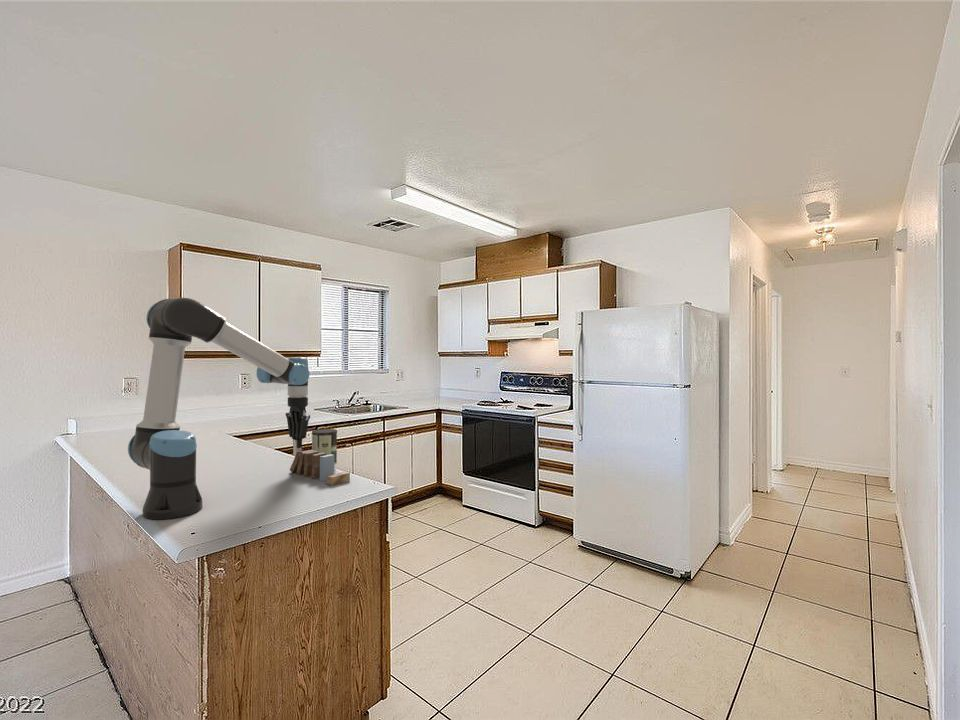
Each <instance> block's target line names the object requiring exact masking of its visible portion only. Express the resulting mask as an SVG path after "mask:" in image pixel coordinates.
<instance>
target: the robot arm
mask: <svg viewBox="0 0 960 720" xmlns="http://www.w3.org/2000/svg"><path fill="white" fill-rule="evenodd" d="M146 324H147V326H148V328H149V334H148V340H150V342H151V343H152V344H153V347H152V353H151V354H152V355H151V362H150V369H149V376H148V384H147V390H146V395H145V404H144V411H143V418H142V420H141V421H139V422H138V423H137V424H136V427H135V433H134V435H133V436H132V437H131V439H130V440H129V442H128V445H127V454H128V457H129V458H130V460H132V462H134V464H136V465H137V466H139V467H140V468H144V469H146V470H149V490H148V492H147V495H146V497H145V501H144V503H143V506H142V517H144V518H145V519H149V520H168V519H176V518H181V517H182V518H183V517H186V516H189V515H192V514H195V513H197V512H199V511H201V510H202V509H203V497H202V495H201V492H200V490H199V488H198V485H197V438H196V436H195V435H194V434H193V433H192V432H190V431H187V430H180V428H181V426H180V425H179V424H178V422H177V421H176V417H177V410H178V403H179V395H180V388H181V381H182V373H183V365H184V358H185V352H186V347H188V346H189V345H191V344H192V340H193V338H196V339H199V340H201V341H203V342H205V343H208V344H209V343H213V344H215V345H216V346H219V347H221V348H223V349H224V350H226V351H228V352H230V353H232V354H233V355H236V356H237V357H239V358H241V359H243V360H244V361H247V362H248V363H250V364H252V365H254V366H255V367H257V368H256V378H257V380H258V382H259V383H262V384H282V385H287V396H288V397H287V407H289V411H288V412H286V413H285V417H286V420H287V421H286V422H287V428H288V436H289V438H291V439H292V449H293V451H292V452H293V455H292V456H293V457H295V456H296V454H297V452H301V451H303V450H302V449H303V439H306V438H307V433H308V426H309V421H310V418H311V415H310V414H307V410H306V407H307V406H308V405H309V398H308V395H309V392H308V391H309V387H308V386H309V378H310V370H309V361H308V358H307V357H288V358H287V357H285V356H284V355H282V354H280V353H279V352H277V351H275V350H273V348H271V347H268V346H267V345H265V344H263V343H262V342H261V341H258V340H257V339H255V338H254V337H252V336H250V335H248V334H247V333H245V332H243V331H242V330H240V329H238V328H237V327H235V326H233V325H231V324H230V323H228V322H227V321H226V317H225V316H223V315H221V314H220V313H218V312H216V311H215V310H214V309H211V308H210V307H208V306H207V305H205V304H203V303H201V302H200V301H198V300H196V299H192V298H189V297H178V298H177V297H176V298H165V299H161V300H159V301H158V302H155V303H154V304H152V305H151V306H150V307H149V309H148V311H147V313H146Z"/></svg>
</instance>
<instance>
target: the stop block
mask: <svg viewBox="0 0 960 720" xmlns="http://www.w3.org/2000/svg"><path fill="white" fill-rule="evenodd" d="M350 478H351V473H350V472H349V471H341V472H337V473H334V474H333V475H329V476H327V481H326V484H327V485H329V486H336V485H339V484H343V483H347V482H350V480H351V479H350Z"/></svg>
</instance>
